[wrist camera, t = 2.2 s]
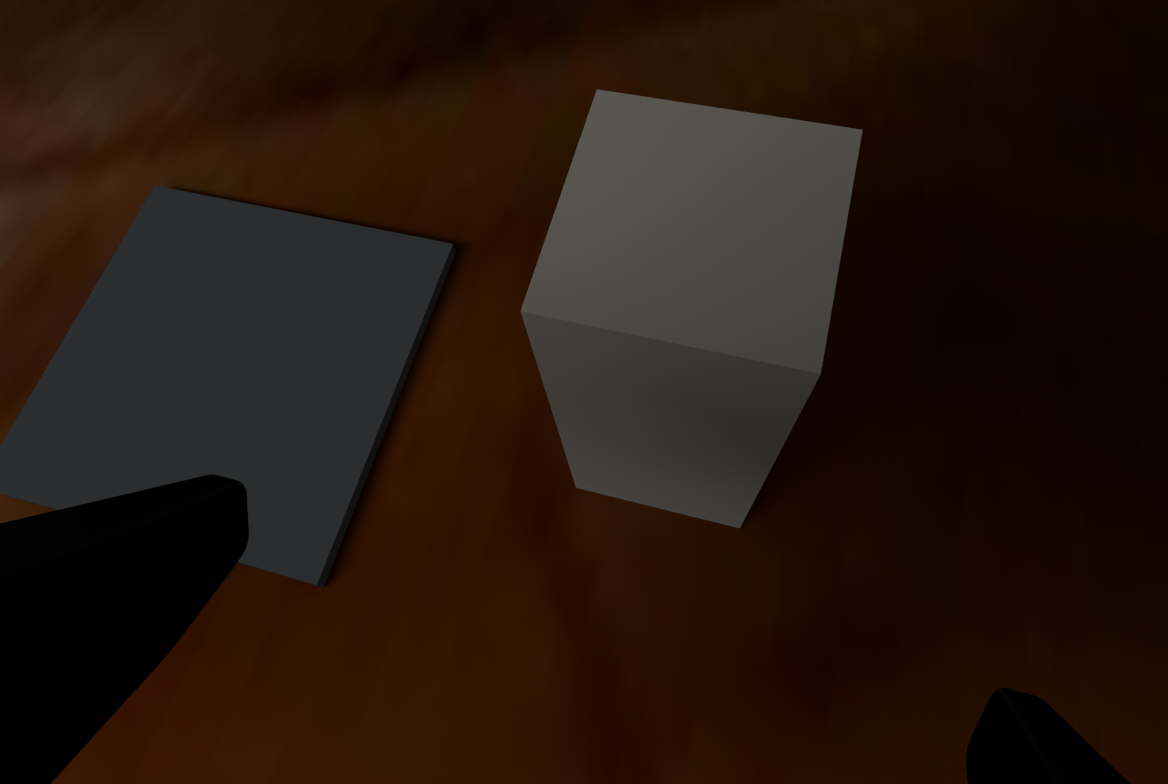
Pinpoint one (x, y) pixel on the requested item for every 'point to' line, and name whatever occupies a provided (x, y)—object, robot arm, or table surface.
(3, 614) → the robot arm
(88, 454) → the mat
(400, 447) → the table surface
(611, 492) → the blank
